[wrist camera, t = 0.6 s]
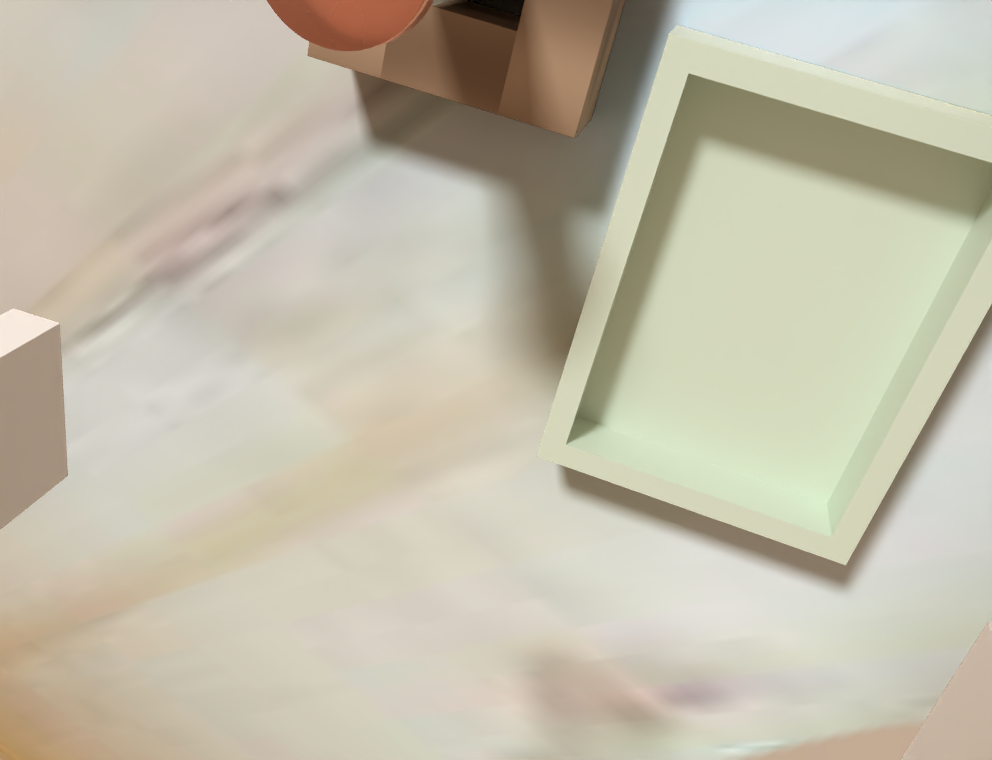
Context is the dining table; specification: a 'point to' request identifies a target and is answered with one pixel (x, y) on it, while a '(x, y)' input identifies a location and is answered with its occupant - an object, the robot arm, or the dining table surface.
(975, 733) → the robot arm
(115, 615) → the dining table surface
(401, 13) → the pin
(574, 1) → the socket block
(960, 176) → the tray
